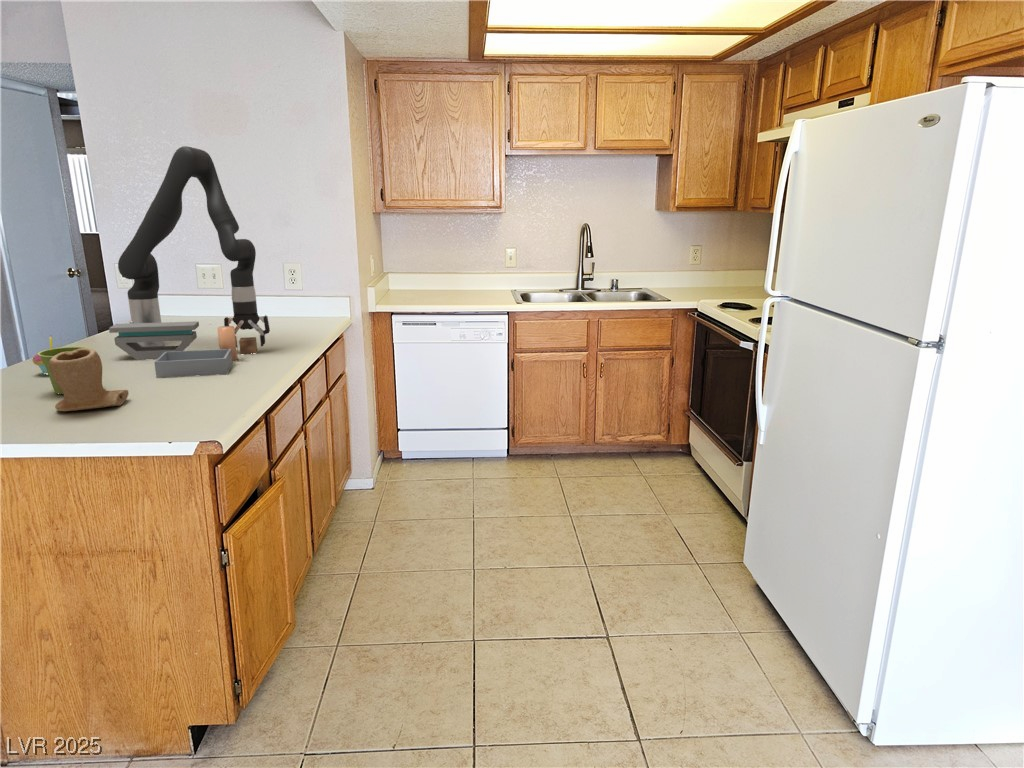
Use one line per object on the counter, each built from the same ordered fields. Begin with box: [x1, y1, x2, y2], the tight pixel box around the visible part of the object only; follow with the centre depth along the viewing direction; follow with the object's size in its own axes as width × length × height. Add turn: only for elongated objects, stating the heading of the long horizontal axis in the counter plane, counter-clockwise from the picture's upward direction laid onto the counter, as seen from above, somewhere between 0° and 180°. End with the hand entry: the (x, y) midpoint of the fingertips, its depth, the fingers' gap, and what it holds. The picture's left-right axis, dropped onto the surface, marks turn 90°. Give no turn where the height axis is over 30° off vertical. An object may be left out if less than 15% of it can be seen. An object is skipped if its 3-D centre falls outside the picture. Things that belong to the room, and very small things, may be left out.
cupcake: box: [31, 334, 54, 374], centre depth 192 cm, size 9×8×12 cm
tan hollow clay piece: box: [49, 347, 129, 412], centre depth 160 cm, size 15×12×15 cm
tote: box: [154, 348, 233, 379], centre depth 199 cm, size 19×14×5 cm
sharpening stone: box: [108, 320, 200, 361], centre depth 216 cm, size 25×8×11 cm, turn 105°
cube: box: [238, 336, 258, 355], centre depth 224 cm, size 5×5×5 cm
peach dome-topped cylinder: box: [217, 325, 238, 362], centre depth 212 cm, size 5×5×11 cm
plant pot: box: [37, 346, 91, 395], centre depth 174 cm, size 12×12×11 cm
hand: (249, 346), depth 224 cm, fingers open, 8 cm apart
